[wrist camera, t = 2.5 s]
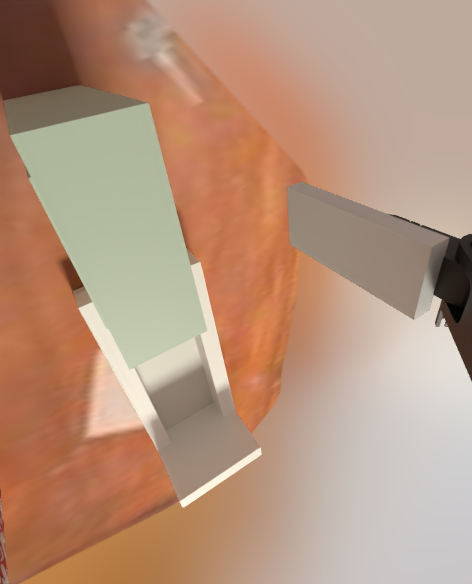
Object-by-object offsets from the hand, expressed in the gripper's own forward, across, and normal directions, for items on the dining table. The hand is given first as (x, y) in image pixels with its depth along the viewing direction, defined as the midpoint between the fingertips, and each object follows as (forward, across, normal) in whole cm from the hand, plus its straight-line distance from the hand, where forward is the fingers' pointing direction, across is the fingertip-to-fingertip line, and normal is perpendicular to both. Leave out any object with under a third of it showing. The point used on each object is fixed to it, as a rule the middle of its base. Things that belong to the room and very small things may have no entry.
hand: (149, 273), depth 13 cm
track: (+13, +1, -16) cm, 21 cm away
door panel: (+13, 0, 0) cm, 13 cm away
